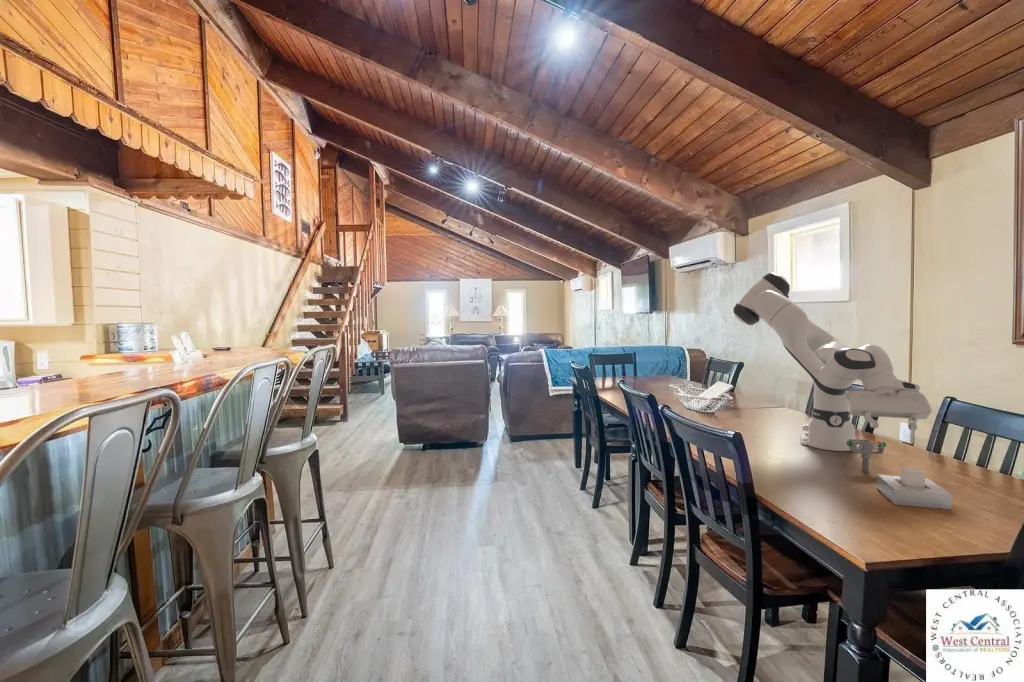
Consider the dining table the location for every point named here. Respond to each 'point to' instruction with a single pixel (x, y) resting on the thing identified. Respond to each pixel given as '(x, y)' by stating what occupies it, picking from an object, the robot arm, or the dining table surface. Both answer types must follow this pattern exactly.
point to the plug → (912, 477)
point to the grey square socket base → (914, 493)
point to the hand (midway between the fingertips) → (894, 428)
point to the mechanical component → (866, 450)
